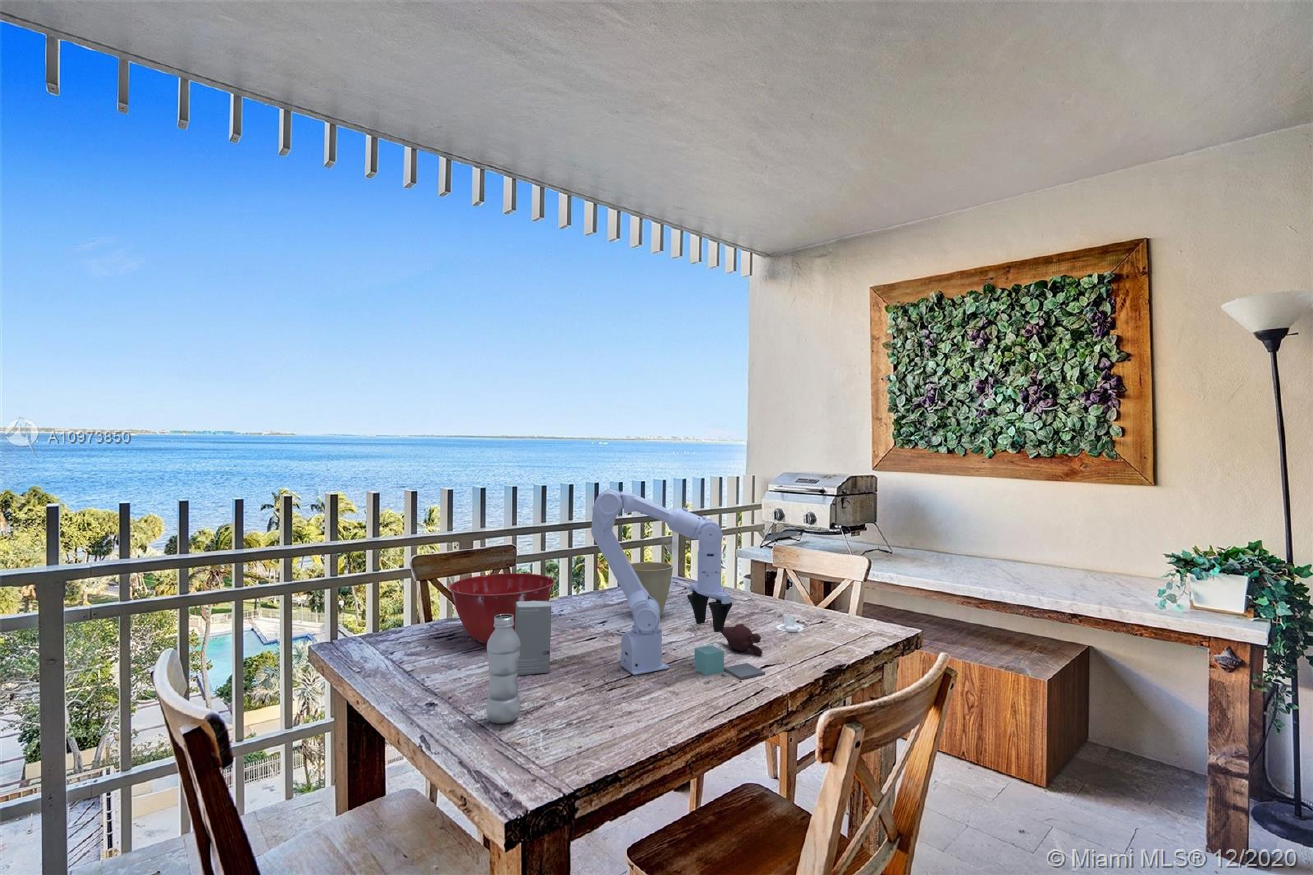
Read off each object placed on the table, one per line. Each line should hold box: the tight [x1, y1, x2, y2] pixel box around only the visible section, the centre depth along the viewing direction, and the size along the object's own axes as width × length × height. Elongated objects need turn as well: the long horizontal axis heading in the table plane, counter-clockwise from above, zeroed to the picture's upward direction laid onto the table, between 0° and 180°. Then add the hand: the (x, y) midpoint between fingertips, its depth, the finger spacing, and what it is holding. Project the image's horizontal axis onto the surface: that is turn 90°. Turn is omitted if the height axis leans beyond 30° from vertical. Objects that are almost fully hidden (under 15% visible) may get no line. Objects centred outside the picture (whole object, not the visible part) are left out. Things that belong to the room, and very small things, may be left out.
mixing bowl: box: [448, 572, 556, 645], centre depth 169 cm, size 28×28×15 cm
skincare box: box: [515, 600, 552, 677], centre depth 145 cm, size 8×7×16 cm
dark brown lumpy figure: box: [720, 623, 764, 657], centre depth 160 cm, size 7×8×15 cm
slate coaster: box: [724, 662, 766, 681], centre depth 143 cm, size 7×7×1 cm
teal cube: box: [694, 644, 725, 676], centre depth 145 cm, size 5×5×5 cm
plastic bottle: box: [485, 614, 521, 725], centre depth 118 cm, size 6×7×20 cm
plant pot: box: [630, 561, 674, 618], centre depth 191 cm, size 15×15×16 cm
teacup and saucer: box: [775, 613, 805, 633], centre depth 179 cm, size 9×8×4 cm
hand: (709, 627), depth 147 cm, fingers open, 7 cm apart
